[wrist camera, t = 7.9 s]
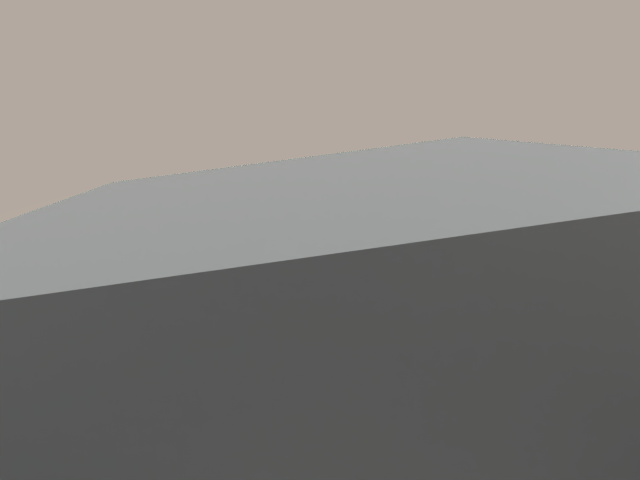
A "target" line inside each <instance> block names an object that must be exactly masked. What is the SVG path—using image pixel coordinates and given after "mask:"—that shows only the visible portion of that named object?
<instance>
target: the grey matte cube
mask: <svg viewBox="0 0 640 480" xmlns="http://www.w3.org/2000/svg"><path fill="white" fill-rule="evenodd" d="M0 480H640V151H628V150H617V149H605V148H592V147H580V146H566V145H555V144H543V143H531V142H519V141H507V140H494V139H482V138H470V137H459V138H451V139H444V140H437V141H428V142H420V143H412V144H405V145H397V146H390V147H383V148H374V149H367V150H359V151H351V152H343V153H336V154H328V155H321V156H312V157H305V158H297V159H289V160H282V161H274V162H266V163H259V164H251V165H243V166H236V167H228V168H220V169H212V170H204V171H197V172H189V173H182V174H174V175H166V176H158V177H150V178H143V179H135V180H128V181H120V182H113V183H110V184H107V185H104V186H101V187H99V188H96V189H93V190H90V191H88V192H85V193H82V194H79V195H77V196H74V197H71V198H68V199H65V200H62V201H60V202H57V203H54V204H51V205H49V206H46V207H43V208H40V209H38V210H35V211H32V212H29V213H27V214H24V215H21V216H18V217H15V218H12V219H10V220H7V221H4V222H1V223H0Z"/></svg>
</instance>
